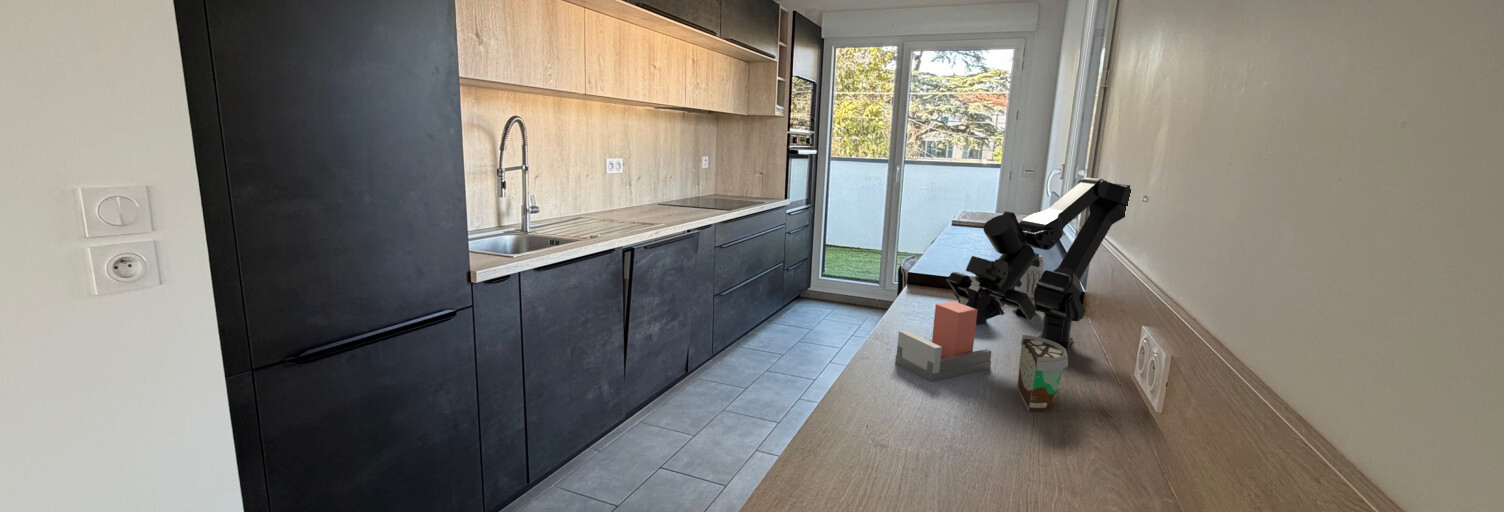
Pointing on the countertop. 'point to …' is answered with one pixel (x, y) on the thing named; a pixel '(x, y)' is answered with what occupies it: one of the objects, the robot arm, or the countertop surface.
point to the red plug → (954, 328)
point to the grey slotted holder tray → (936, 358)
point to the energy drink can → (1031, 280)
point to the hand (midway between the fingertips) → (964, 326)
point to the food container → (1040, 372)
